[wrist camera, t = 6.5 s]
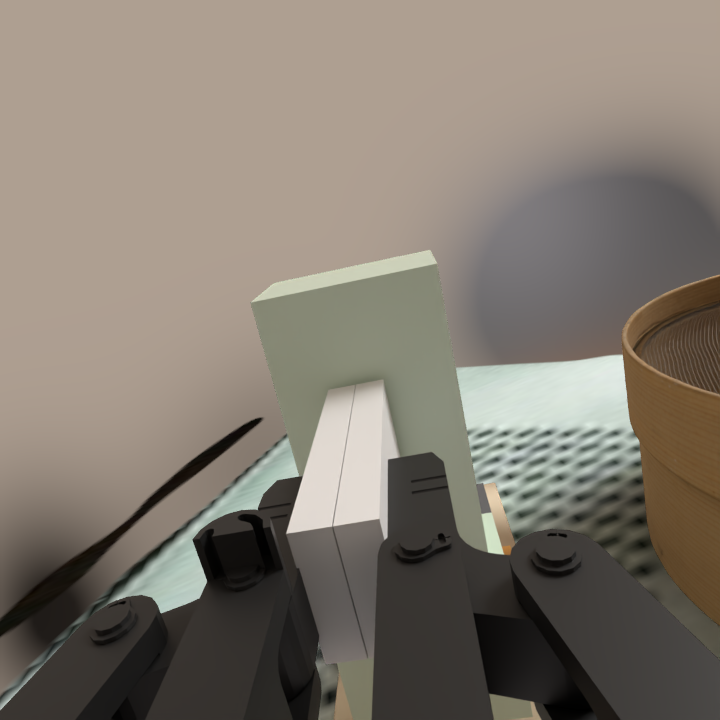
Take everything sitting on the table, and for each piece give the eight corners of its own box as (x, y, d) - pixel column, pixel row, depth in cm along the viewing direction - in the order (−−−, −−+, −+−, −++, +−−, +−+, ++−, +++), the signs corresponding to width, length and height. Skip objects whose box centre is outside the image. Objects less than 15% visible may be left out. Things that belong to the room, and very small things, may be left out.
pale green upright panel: (532, 716, 18) (456, 259, 14) (357, 735, 19) (232, 306, 15) (514, 645, 21) (446, 246, 17) (362, 664, 22) (258, 286, 18)
